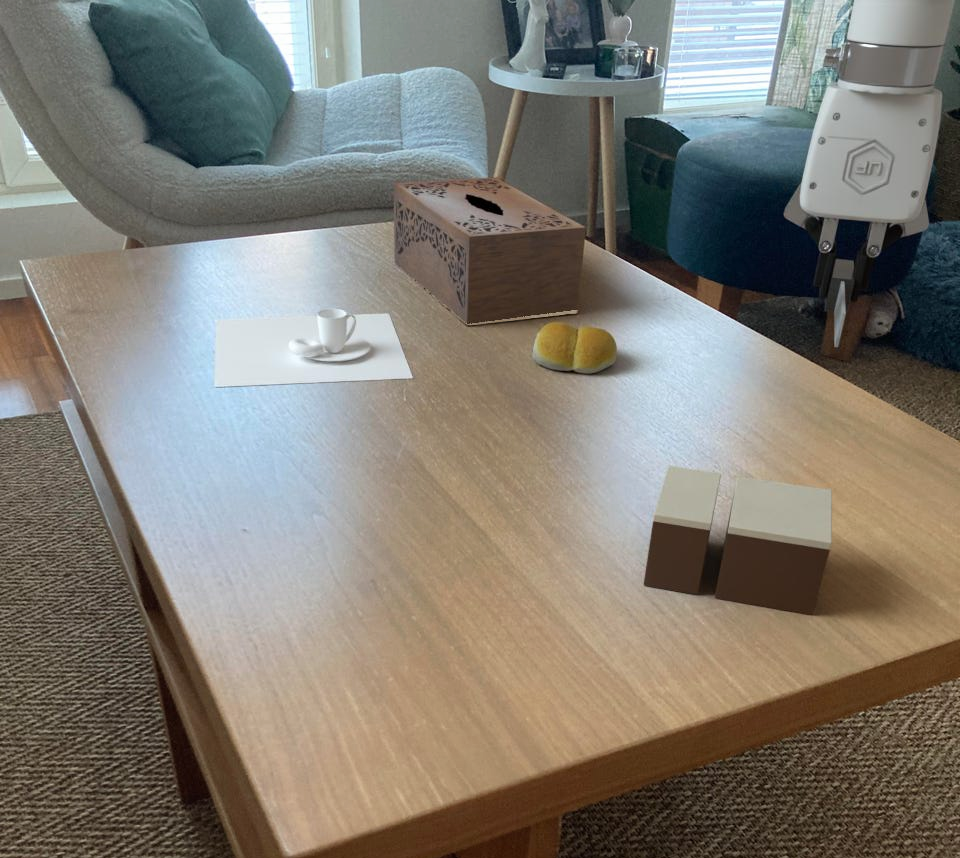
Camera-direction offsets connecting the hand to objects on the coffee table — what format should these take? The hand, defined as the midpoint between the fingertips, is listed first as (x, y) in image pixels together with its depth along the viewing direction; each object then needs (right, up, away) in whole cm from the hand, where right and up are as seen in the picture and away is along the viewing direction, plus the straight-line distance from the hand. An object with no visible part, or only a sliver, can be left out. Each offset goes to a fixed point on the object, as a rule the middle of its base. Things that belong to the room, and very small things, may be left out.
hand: (838, 294), depth 94 cm
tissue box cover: (-33, +13, +37) cm, 51 cm away
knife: (-1, -3, -2) cm, 4 cm away
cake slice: (-18, -26, -16) cm, 35 cm away
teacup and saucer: (-52, 0, +18) cm, 55 cm away
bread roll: (-23, -2, +17) cm, 29 cm away
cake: (-11, -27, -17) cm, 34 cm away
